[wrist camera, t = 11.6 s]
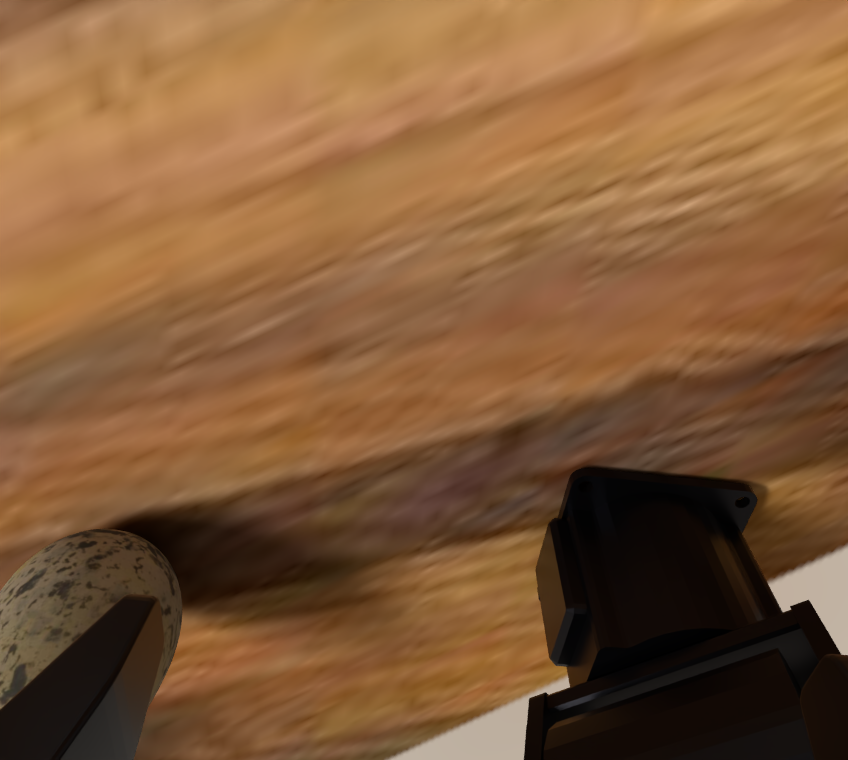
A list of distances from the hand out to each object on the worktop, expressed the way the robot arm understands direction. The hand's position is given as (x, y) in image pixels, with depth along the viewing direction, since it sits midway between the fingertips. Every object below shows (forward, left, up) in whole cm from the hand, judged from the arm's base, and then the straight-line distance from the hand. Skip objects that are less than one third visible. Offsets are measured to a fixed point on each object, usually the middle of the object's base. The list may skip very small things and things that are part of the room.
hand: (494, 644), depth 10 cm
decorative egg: (+11, +13, -13) cm, 22 cm away
